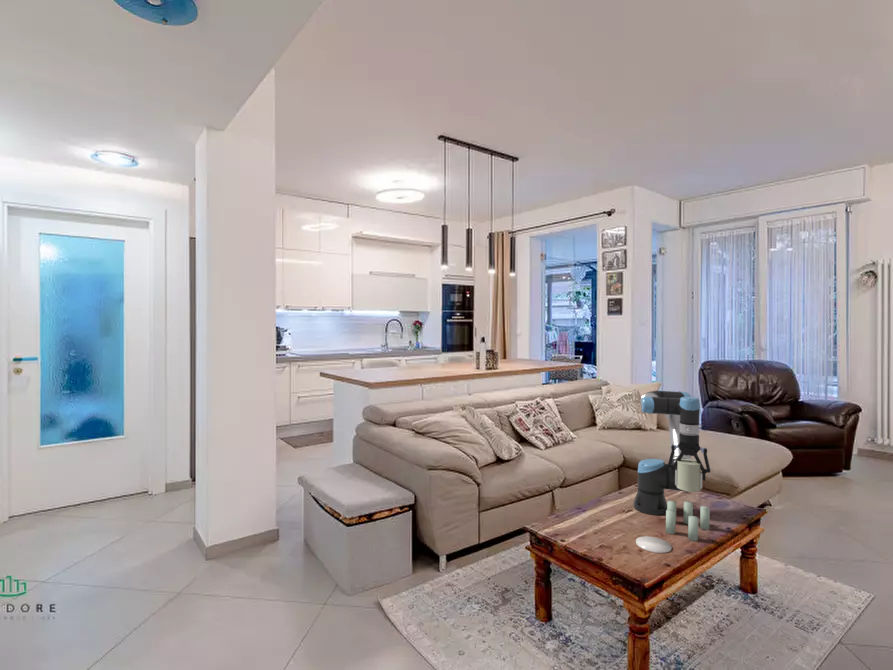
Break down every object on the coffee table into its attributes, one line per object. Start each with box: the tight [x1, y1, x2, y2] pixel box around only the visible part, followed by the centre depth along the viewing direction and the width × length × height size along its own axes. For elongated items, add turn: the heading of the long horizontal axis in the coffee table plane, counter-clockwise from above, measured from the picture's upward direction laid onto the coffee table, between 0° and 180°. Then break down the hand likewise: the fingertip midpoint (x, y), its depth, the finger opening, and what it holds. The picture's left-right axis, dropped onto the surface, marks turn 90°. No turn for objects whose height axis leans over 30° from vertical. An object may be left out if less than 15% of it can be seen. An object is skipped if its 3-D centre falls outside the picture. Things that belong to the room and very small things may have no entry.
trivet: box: [635, 535, 673, 554], centre depth 186 cm, size 13×13×1 cm
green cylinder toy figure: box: [677, 458, 702, 493], centre depth 200 cm, size 9×9×12 cm
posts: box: [665, 500, 711, 542], centre depth 200 cm, size 17×21×9 cm
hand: (688, 485), depth 200 cm, fingers closed on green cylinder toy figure, 9 cm apart
